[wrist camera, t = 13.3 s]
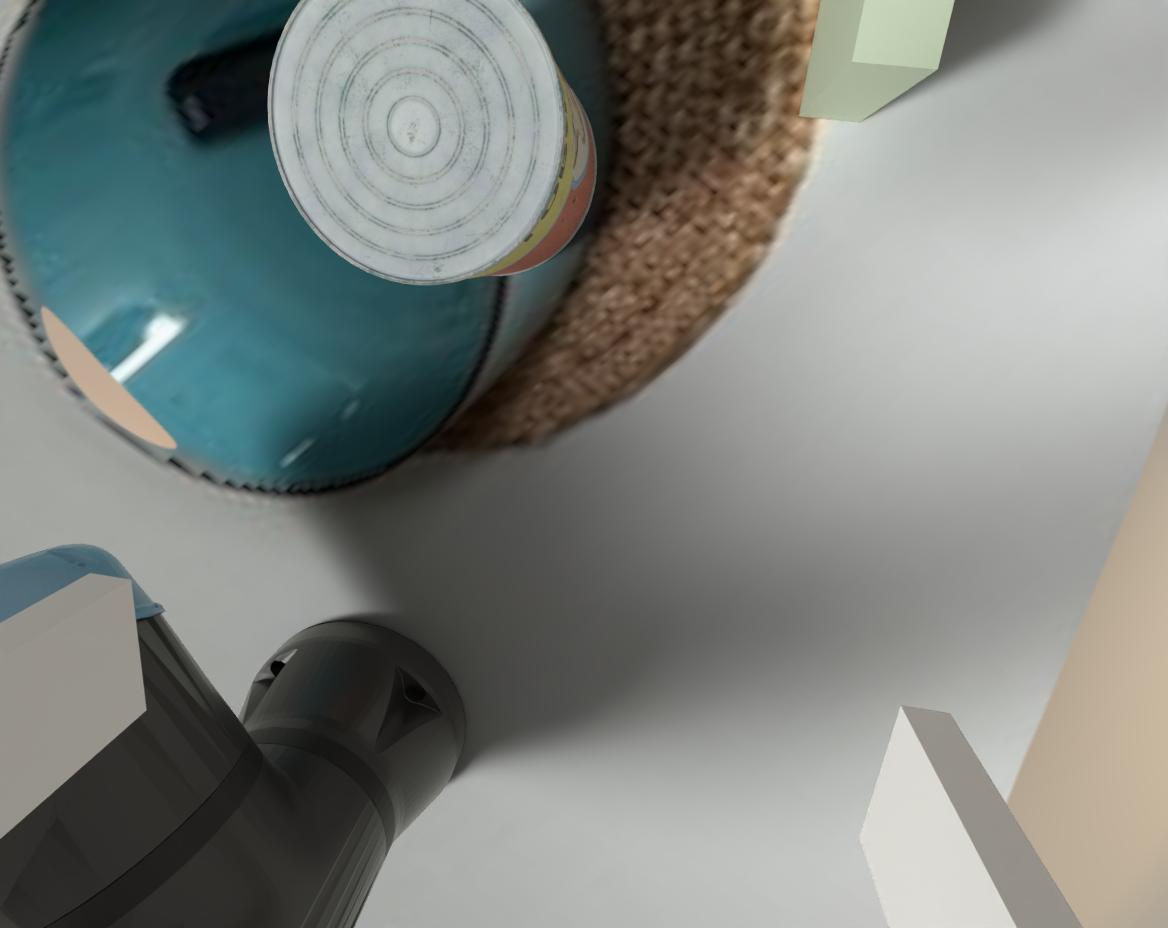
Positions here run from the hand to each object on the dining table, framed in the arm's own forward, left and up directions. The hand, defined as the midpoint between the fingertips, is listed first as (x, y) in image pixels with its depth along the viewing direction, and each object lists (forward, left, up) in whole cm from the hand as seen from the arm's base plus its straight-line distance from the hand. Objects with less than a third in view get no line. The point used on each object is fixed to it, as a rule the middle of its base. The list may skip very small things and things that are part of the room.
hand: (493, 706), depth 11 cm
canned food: (-8, +11, -29) cm, 32 cm away
